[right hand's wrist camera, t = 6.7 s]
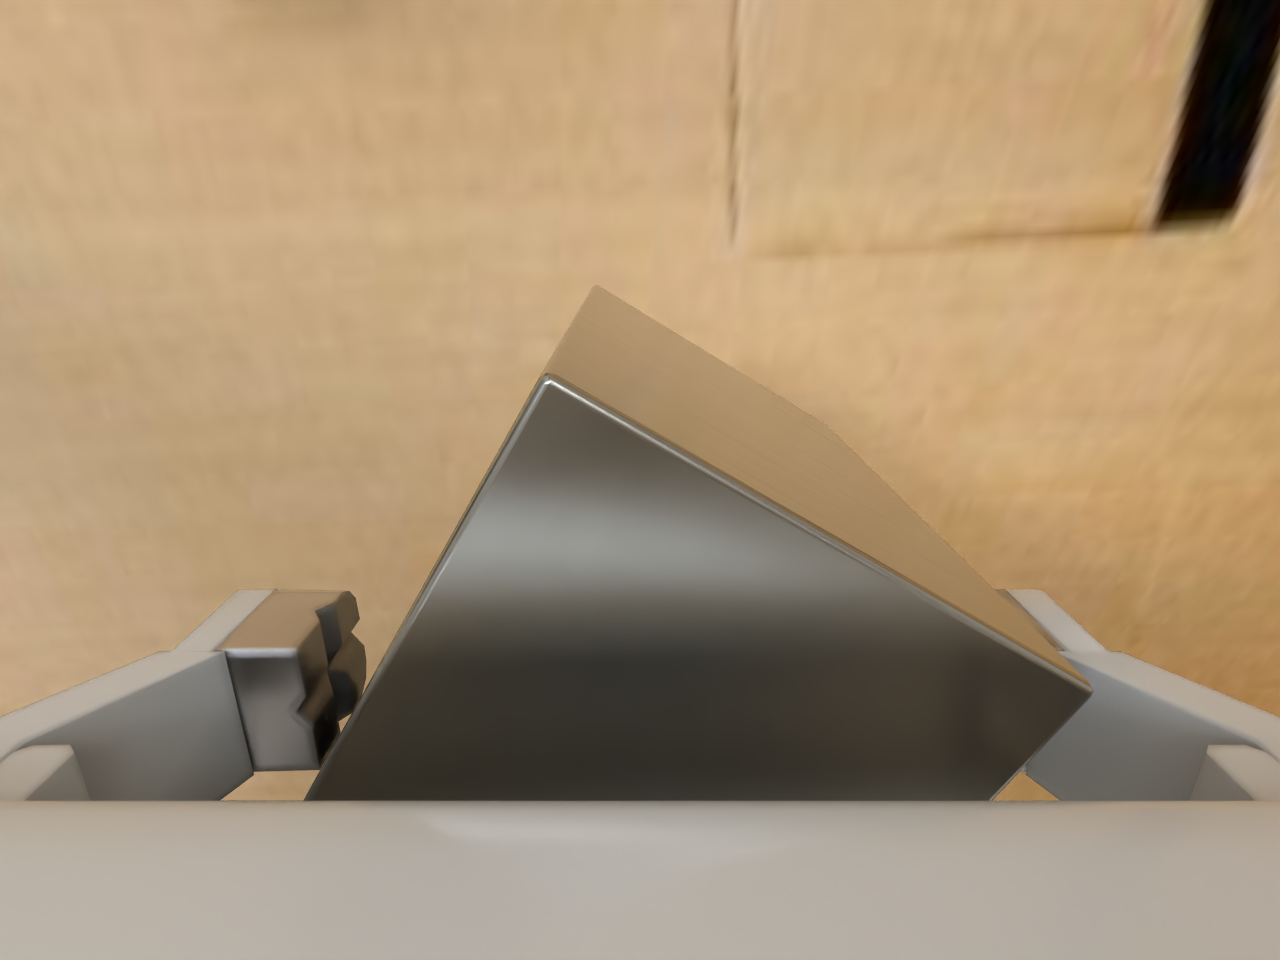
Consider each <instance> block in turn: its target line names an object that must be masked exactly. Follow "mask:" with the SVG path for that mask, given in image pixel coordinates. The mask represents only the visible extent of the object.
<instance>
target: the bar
mask: <svg viewBox="0 0 1280 960" xmlns="http://www.w3.org/2000/svg"><path fill="white" fill-rule="evenodd" d="M1092 693H1093V689H1092V687H1091V685H1090V683H1089V682H1088V681H1087V680H1086V679H1085V678H1084V677H1083V676H1082V675H1081V674H1080V673H1079V672H1078V671H1077V670H1076V669H1075V668H1074V667H1073V666H1072V665H1071V664H1070V663H1069V662H1068V661H1067V660H1066V659H1065V658H1064V657H1063V656H1062V655H1061V654H1060V653H1059V652H1058V651H1056V650H1055V649H1054V648H1053V647H1052V646H1051V645H1050V644H1049V643H1048V642H1047V641H1046V640H1045V639H1044V638H1043V637H1042V636H1041V635H1040V634H1039V633H1038V632H1037V631H1036V630H1035V629H1034V628H1033V627H1032V626H1031V625H1030V624H1029V623H1028V622H1027V621H1026V620H1025V619H1024V618H1023V617H1022V616H1021V615H1020V614H1019V613H1018V612H1017V611H1016V610H1015V609H1014V608H1013V607H1012V606H1011V605H1010V604H1009V603H1007V602H1006V601H1005V600H1004V599H1003V598H1002V597H1001V596H1000V595H999V594H998V593H997V592H996V591H995V590H994V589H993V588H992V587H991V586H990V585H989V584H988V583H987V582H986V581H985V580H984V579H983V578H982V577H981V576H980V575H979V574H978V573H977V572H976V571H975V570H974V569H973V568H972V567H971V566H970V565H969V564H968V563H967V562H966V561H965V560H964V559H963V558H962V557H961V556H960V555H958V554H957V553H956V552H955V551H954V550H953V549H952V548H951V547H950V546H949V545H948V544H947V543H946V542H945V541H944V540H943V539H942V538H941V537H940V536H939V535H938V534H937V533H936V532H935V531H934V530H933V529H932V528H931V527H930V526H929V525H928V524H927V523H926V522H925V521H924V520H923V519H922V518H921V517H920V516H919V515H918V514H917V513H916V512H915V511H914V510H913V509H912V508H910V507H909V506H908V505H907V504H906V503H905V502H904V501H903V500H902V499H901V498H900V497H899V496H898V495H897V494H896V493H895V492H894V491H893V490H892V489H891V488H890V487H889V486H888V485H887V484H886V483H885V482H884V481H883V480H882V479H881V478H880V477H879V476H878V475H877V474H876V473H875V472H874V471H873V470H872V469H871V468H870V467H869V466H868V465H867V464H866V463H865V462H864V461H863V460H861V459H860V458H859V457H858V456H857V455H856V454H855V453H854V452H853V451H852V450H851V449H850V448H849V447H848V446H847V445H846V444H845V443H844V442H843V441H842V440H841V439H840V438H839V437H838V436H837V435H836V434H835V433H834V432H833V431H832V430H831V429H830V428H829V427H828V426H827V425H826V424H824V423H822V422H821V421H819V420H817V419H816V418H814V417H812V416H811V415H809V414H808V413H806V412H804V411H803V410H801V409H799V408H798V407H796V406H794V405H793V404H791V403H790V402H788V401H786V400H785V399H783V398H781V397H780V396H778V395H776V394H775V393H773V392H772V391H770V390H768V389H767V388H765V387H763V386H762V385H760V384H758V383H757V382H755V381H754V380H752V379H750V378H749V377H747V376H745V375H744V374H742V373H740V372H739V371H737V370H736V369H734V368H732V367H731V366H729V365H727V364H726V363H724V362H723V361H721V360H719V359H718V358H716V357H714V356H713V355H711V354H709V353H708V352H706V351H705V350H703V349H701V348H700V347H698V346H696V345H695V344H693V343H691V342H690V341H688V340H687V339H685V338H683V337H682V336H680V335H678V334H677V333H675V332H673V331H672V330H670V329H669V328H667V327H665V326H664V325H662V324H660V323H659V322H657V321H655V320H654V319H652V318H651V317H649V316H647V315H646V314H644V313H642V312H641V311H639V310H637V309H636V308H634V307H633V306H631V305H629V304H628V303H626V302H624V301H623V300H621V299H619V298H618V297H616V296H615V295H613V294H611V293H610V292H608V291H606V290H605V289H603V288H601V287H600V286H596V285H595V286H594V287H593V288H592V289H591V291H590V293H589V295H588V296H587V298H586V300H585V301H584V303H583V305H582V306H581V308H580V310H579V311H578V313H577V315H576V316H575V318H574V320H573V322H572V323H571V325H570V327H569V328H568V330H567V332H566V333H565V335H564V337H563V338H562V340H561V342H560V344H559V345H558V347H557V349H556V350H555V352H554V354H553V355H552V357H551V359H550V360H549V362H548V364H547V365H546V367H545V369H544V371H543V372H542V374H541V376H540V377H539V379H538V381H537V383H536V384H535V386H534V388H533V390H532V392H531V393H530V395H529V397H528V399H527V401H526V402H525V404H524V406H523V408H522V410H521V411H520V413H519V415H518V417H517V418H516V420H515V422H514V424H513V426H512V427H511V429H510V431H509V433H508V435H507V436H506V438H505V440H504V442H503V444H502V445H501V447H500V449H499V451H498V453H497V454H496V456H495V458H494V460H493V462H492V463H491V465H490V467H489V469H488V470H487V472H486V474H485V476H484V478H483V479H482V481H481V483H480V485H479V487H478V488H477V490H476V492H475V494H474V496H473V497H472V499H471V501H470V503H469V505H468V506H467V508H466V510H465V512H464V514H463V515H462V517H461V519H460V521H459V523H458V524H457V526H456V528H455V530H454V531H453V533H452V535H451V537H450V539H449V540H448V542H447V544H446V546H445V548H444V549H443V551H442V553H441V555H440V557H439V558H438V560H437V562H436V564H435V566H434V567H433V569H432V571H431V573H430V575H429V576H428V578H427V580H426V582H425V583H424V585H423V587H422V589H421V591H420V592H419V594H418V596H417V598H416V600H415V601H414V603H413V605H412V607H411V609H410V610H409V612H408V614H407V616H406V618H405V619H404V621H403V623H402V625H401V627H400V628H399V630H398V632H397V634H396V635H395V637H394V639H393V641H392V643H391V644H390V646H389V648H388V650H387V652H386V653H385V655H384V657H383V659H382V661H381V662H380V664H379V666H378V668H377V670H376V671H375V673H374V675H373V677H372V679H371V680H370V682H369V684H368V686H367V687H366V689H365V691H364V693H363V695H362V696H361V698H360V700H359V702H358V704H357V705H356V707H355V709H354V711H353V713H352V714H351V716H350V718H349V720H348V722H347V723H346V725H345V727H344V729H343V731H342V732H341V734H340V736H339V738H338V740H337V741H336V743H335V745H334V747H333V748H332V750H331V752H330V754H329V756H328V757H327V759H326V761H325V763H324V765H323V766H322V768H321V770H320V772H319V774H318V775H317V777H316V779H315V781H314V783H313V784H312V786H311V788H310V790H309V792H308V793H307V795H306V797H305V799H304V800H303V801H992V800H993V799H994V798H995V797H996V796H997V795H998V794H999V793H1000V792H1001V791H1002V790H1003V789H1004V788H1005V787H1006V786H1007V784H1008V783H1009V782H1010V781H1011V780H1012V779H1013V778H1014V777H1015V776H1016V775H1017V774H1018V773H1019V772H1020V771H1021V770H1022V769H1023V768H1024V767H1025V766H1026V764H1027V763H1028V762H1029V761H1030V760H1031V759H1032V758H1033V757H1034V756H1035V755H1036V754H1037V753H1038V752H1039V751H1040V750H1041V749H1042V748H1043V747H1044V746H1045V744H1046V743H1047V742H1048V741H1049V740H1050V739H1051V738H1052V737H1053V736H1054V735H1055V734H1056V733H1057V732H1058V731H1059V730H1060V729H1061V728H1062V727H1063V726H1064V724H1065V723H1066V722H1067V721H1068V720H1069V719H1070V718H1071V717H1072V716H1073V715H1074V714H1075V713H1076V712H1077V711H1078V710H1079V709H1080V708H1081V707H1082V706H1083V704H1084V703H1085V702H1086V701H1087V700H1088V699H1089V698H1090V697H1091V696H1092Z"/></svg>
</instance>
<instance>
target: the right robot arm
mask: <svg viewBox="0 0 1280 960" xmlns="http://www.w3.org/2000/svg"><path fill="white" fill-rule="evenodd" d="M995 591H996V592H997V593H998V594H999V595H1000V596H1001V597H1002V598H1003V599H1004V600H1005V601H1006V602H1007V603H1009V604H1010V605H1011V606H1012V607H1013V608H1014V609H1015V610H1016V611H1017V612H1018V613H1019V614H1020V615H1021V616H1022V617H1023V618H1024V619H1025V620H1026V621H1027V622H1028V623H1029V624H1030V625H1031V626H1032V627H1033V628H1034V629H1035V630H1036V631H1037V632H1038V633H1039V634H1040V635H1041V636H1042V637H1043V638H1044V639H1045V640H1046V641H1047V642H1048V643H1049V644H1050V645H1051V646H1052V647H1053V648H1054V649H1055V650H1056V651H1058V652H1059V653H1060V654H1061V655H1062V656H1063V657H1064V658H1065V659H1066V660H1067V661H1068V662H1069V663H1070V664H1071V665H1072V666H1073V667H1074V668H1075V669H1076V670H1077V671H1078V672H1079V673H1080V674H1081V675H1082V676H1083V677H1084V678H1085V679H1086V680H1087V681H1088V682H1089V683H1090V685H1091V687H1092V689H1093V693H1092V696H1091V697H1090V698H1089V699H1088V700H1087V701H1086V702H1085V703H1084V704H1083V706H1082V707H1081V708H1080V709H1079V710H1078V711H1077V712H1076V713H1075V714H1074V715H1073V716H1072V717H1071V718H1070V719H1069V720H1068V721H1067V722H1066V723H1065V724H1064V726H1063V727H1062V728H1061V729H1060V730H1059V731H1058V732H1057V733H1056V734H1055V735H1054V736H1053V737H1052V738H1051V739H1050V740H1049V741H1048V742H1047V743H1046V744H1045V746H1044V747H1043V748H1042V749H1041V750H1040V751H1039V752H1038V753H1037V754H1036V755H1035V756H1034V757H1033V758H1032V759H1031V760H1030V761H1029V762H1028V763H1027V764H1026V766H1025V767H1024V768H1023V769H1022V770H1021V772H1026V775H1027V776H1029V777H1030V778H1031V779H1033V780H1034V781H1035V782H1037V783H1038V784H1039V785H1040V786H1042V787H1043V788H1044V789H1046V790H1047V791H1048V792H1050V793H1051V794H1052V795H1054V796H1055V797H1056V798H1058V799H1059V800H1060V801H220V800H221V799H222V798H224V797H225V796H226V795H228V794H229V793H230V792H232V791H233V790H234V789H236V788H237V787H238V786H240V785H241V784H242V783H244V782H245V781H246V780H248V779H249V778H250V777H252V776H253V775H254V772H258V771H294V770H320V769H321V767H322V765H323V764H324V762H325V760H326V759H327V757H328V755H329V753H330V752H331V750H332V748H333V746H334V745H335V743H336V741H337V740H338V738H339V736H340V734H341V733H340V728H339V722H338V721H340V720H341V719H343V718H345V717H346V716H348V715H349V714H351V713H352V712H353V711H354V709H355V707H356V705H357V704H358V702H359V700H360V698H361V696H362V692H363V688H364V684H365V680H366V656H365V649H364V645H363V644H362V643H361V642H360V641H359V640H358V639H357V638H356V637H355V636H354V635H353V634H352V633H351V631H352V630H353V628H354V627H355V625H356V624H357V622H358V621H359V619H360V618H359V613H358V608H357V603H356V598H355V597H354V596H353V595H352V594H351V592H350V591H328V590H278V589H252V590H240V591H236V592H235V593H234V594H233V595H232V596H231V597H230V598H229V599H228V600H227V601H226V602H225V603H223V604H222V605H221V606H220V607H219V608H218V609H217V610H216V611H215V612H214V613H213V614H212V615H210V616H209V617H208V618H207V619H206V620H205V621H204V622H203V623H202V624H201V625H200V626H199V627H197V628H196V629H195V630H194V631H193V632H192V633H191V634H190V635H189V636H188V637H187V638H186V639H184V640H183V641H182V642H181V643H180V644H179V645H178V646H177V647H176V648H175V649H174V650H173V651H159V652H157V653H155V654H152V655H150V656H147V657H145V658H142V659H140V660H138V661H135V662H133V663H130V664H128V665H125V666H123V667H120V668H118V669H116V670H113V671H111V672H108V673H106V674H103V675H101V676H99V677H96V678H94V679H91V680H89V681H86V682H84V683H81V684H79V685H77V686H74V687H72V688H69V689H67V690H64V691H62V692H60V693H57V694H55V695H52V696H50V697H47V698H45V699H42V700H40V701H38V702H35V703H33V704H30V705H28V706H25V707H23V708H21V709H18V710H16V711H13V712H11V713H8V714H6V715H3V716H1V717H0V960H1280V717H1278V716H1276V715H1274V714H1271V713H1269V712H1266V711H1264V710H1261V709H1259V708H1257V707H1254V706H1252V705H1249V704H1247V703H1244V702H1242V701H1240V700H1237V699H1235V698H1232V697H1230V696H1227V695H1225V694H1223V693H1220V692H1218V691H1215V690H1213V689H1210V688H1208V687H1205V686H1203V685H1201V684H1198V683H1196V682H1193V681H1191V680H1188V679H1186V678H1184V677H1181V676H1179V675H1176V674H1174V673H1171V672H1169V671H1167V670H1164V669H1162V668H1159V667H1157V666H1154V665H1152V664H1150V663H1147V662H1145V661H1142V660H1140V659H1137V658H1135V657H1133V656H1130V655H1128V654H1125V653H1123V652H1120V651H1107V650H1106V649H1105V648H1104V647H1103V646H1102V645H1101V644H1100V643H1099V642H1098V641H1097V640H1096V639H1094V638H1093V637H1092V636H1091V635H1090V634H1089V633H1088V632H1087V631H1086V630H1085V629H1084V628H1083V627H1082V626H1080V625H1079V624H1078V623H1077V622H1076V621H1075V620H1074V619H1073V618H1072V617H1071V616H1070V615H1069V614H1067V613H1066V612H1065V611H1064V610H1063V609H1062V608H1061V607H1060V606H1059V605H1058V604H1057V603H1056V602H1055V601H1053V600H1052V599H1051V598H1050V597H1049V596H1048V595H1047V594H1046V593H1045V592H1043V591H1040V590H1037V589H1016V590H995Z"/></svg>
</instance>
